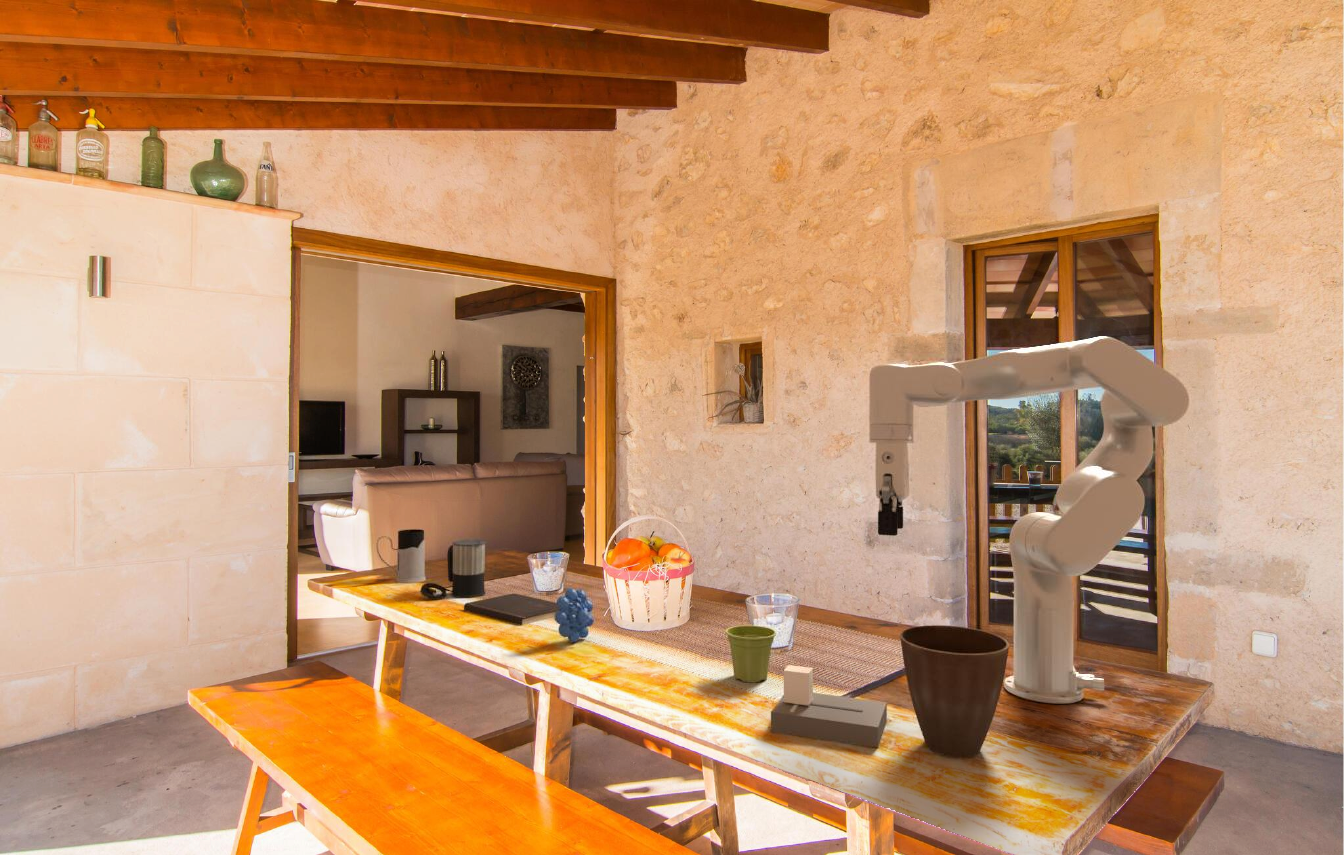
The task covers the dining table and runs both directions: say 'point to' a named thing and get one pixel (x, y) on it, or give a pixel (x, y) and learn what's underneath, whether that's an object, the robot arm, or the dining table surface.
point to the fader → (798, 685)
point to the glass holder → (409, 556)
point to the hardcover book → (514, 608)
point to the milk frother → (462, 570)
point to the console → (832, 719)
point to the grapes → (574, 614)
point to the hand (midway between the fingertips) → (890, 531)
